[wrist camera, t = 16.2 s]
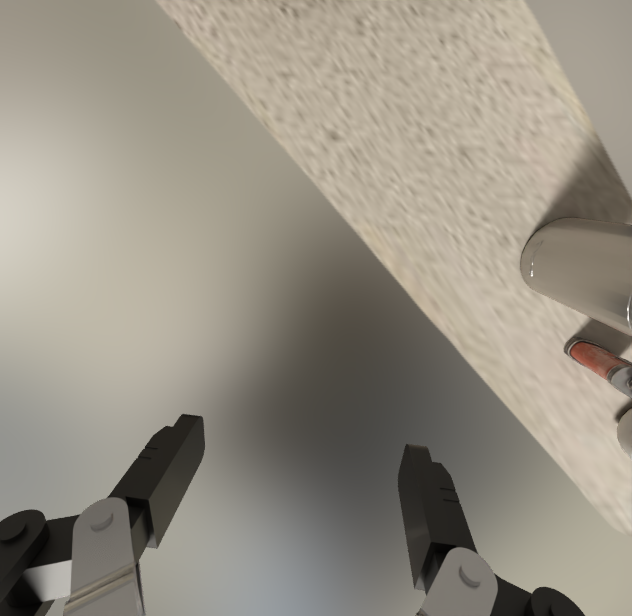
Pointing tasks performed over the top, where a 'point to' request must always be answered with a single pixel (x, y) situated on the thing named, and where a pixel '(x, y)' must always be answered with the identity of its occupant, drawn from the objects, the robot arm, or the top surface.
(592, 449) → the top surface
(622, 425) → the donut
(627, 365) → the lighter
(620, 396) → the top surface
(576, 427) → the top surface
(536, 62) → the top surface
